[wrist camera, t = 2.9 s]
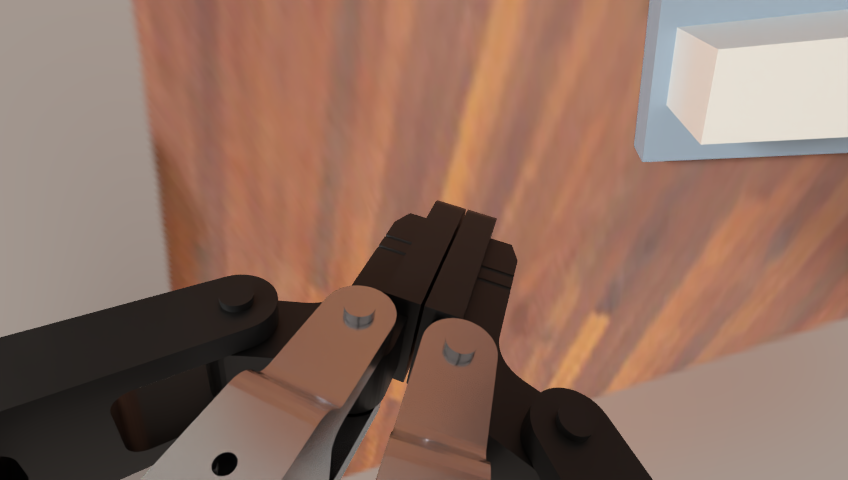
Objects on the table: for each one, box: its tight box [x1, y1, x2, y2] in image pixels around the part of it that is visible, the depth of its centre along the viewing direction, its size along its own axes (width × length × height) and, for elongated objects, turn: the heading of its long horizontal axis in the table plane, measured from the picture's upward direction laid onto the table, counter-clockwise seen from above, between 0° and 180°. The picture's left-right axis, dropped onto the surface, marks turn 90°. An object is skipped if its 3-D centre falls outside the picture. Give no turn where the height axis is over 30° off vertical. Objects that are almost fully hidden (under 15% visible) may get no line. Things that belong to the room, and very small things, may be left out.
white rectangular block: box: [666, 9, 848, 145], centre depth 24 cm, size 4×10×7 cm, turn 98°
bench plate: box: [634, 0, 848, 162], centre depth 28 cm, size 12×14×3 cm
